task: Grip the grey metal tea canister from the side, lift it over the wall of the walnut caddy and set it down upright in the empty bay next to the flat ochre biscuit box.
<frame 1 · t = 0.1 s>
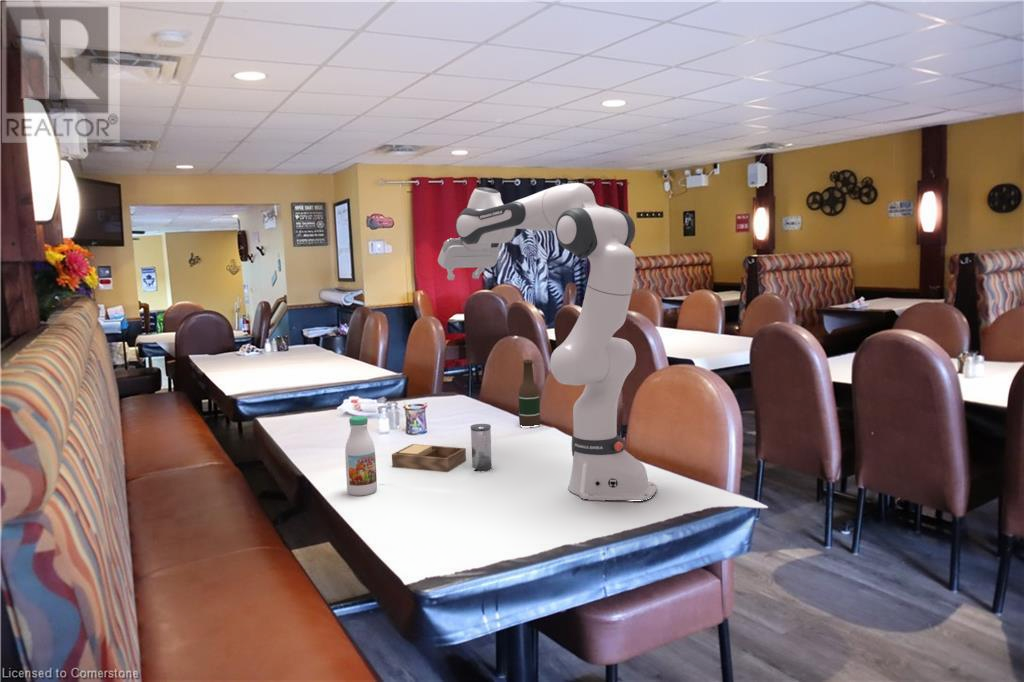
hand: (462, 278, 222), 54 cm above the table, tool tilted 30°, fingers open, 8 cm apart
beer bottle: (529, 426, 257), on the table
milk bottle: (362, 492, 188), on the table
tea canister: (482, 468, 206), on the table
caddy: (429, 466, 210), on the table
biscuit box: (416, 462, 212), point 1 cm above the table, touching caddy
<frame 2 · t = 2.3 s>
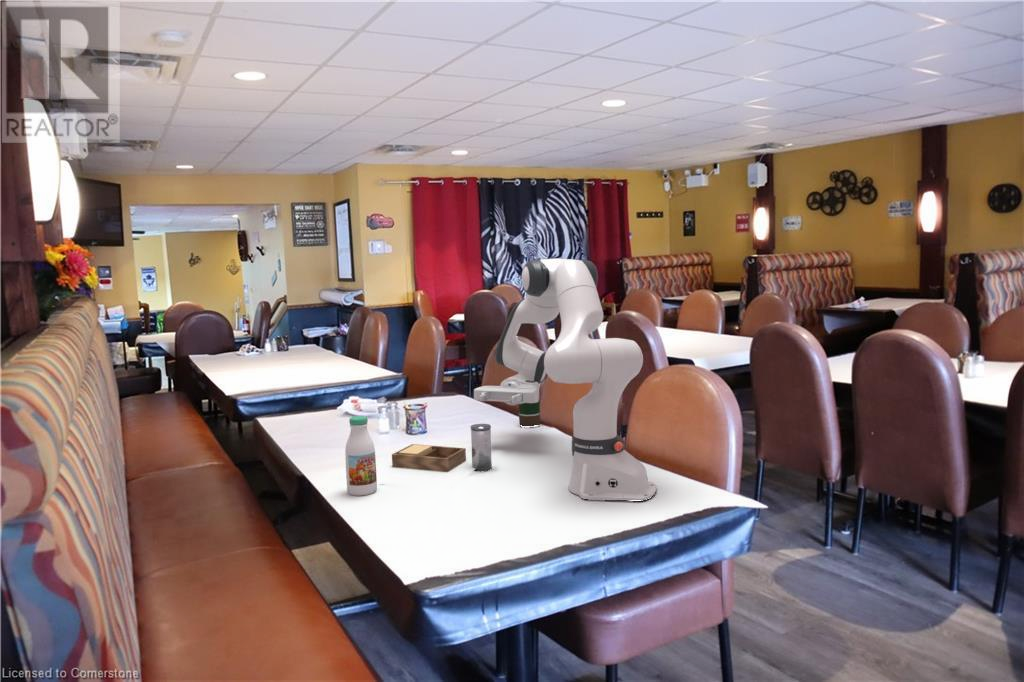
hand: (496, 399, 215), 18 cm above the table, tool horizontal, fingers open, 8 cm apart
nothing on the table moved.
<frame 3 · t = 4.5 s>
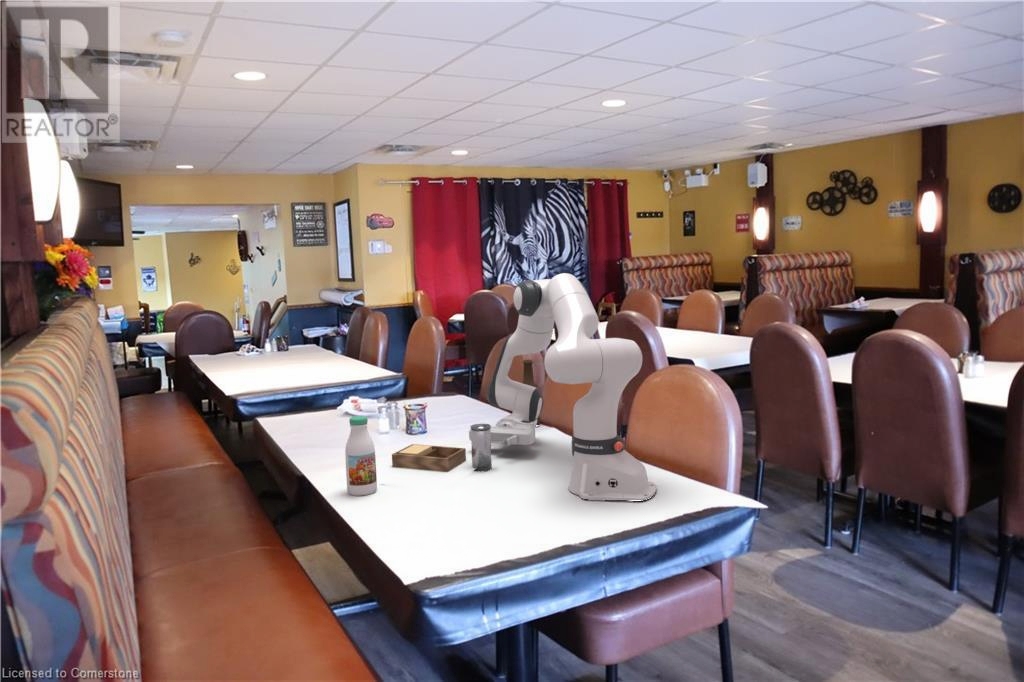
hand: (491, 441, 212), 6 cm above the table, tool horizontal, fingers open, 8 cm apart
nothing on the table moved.
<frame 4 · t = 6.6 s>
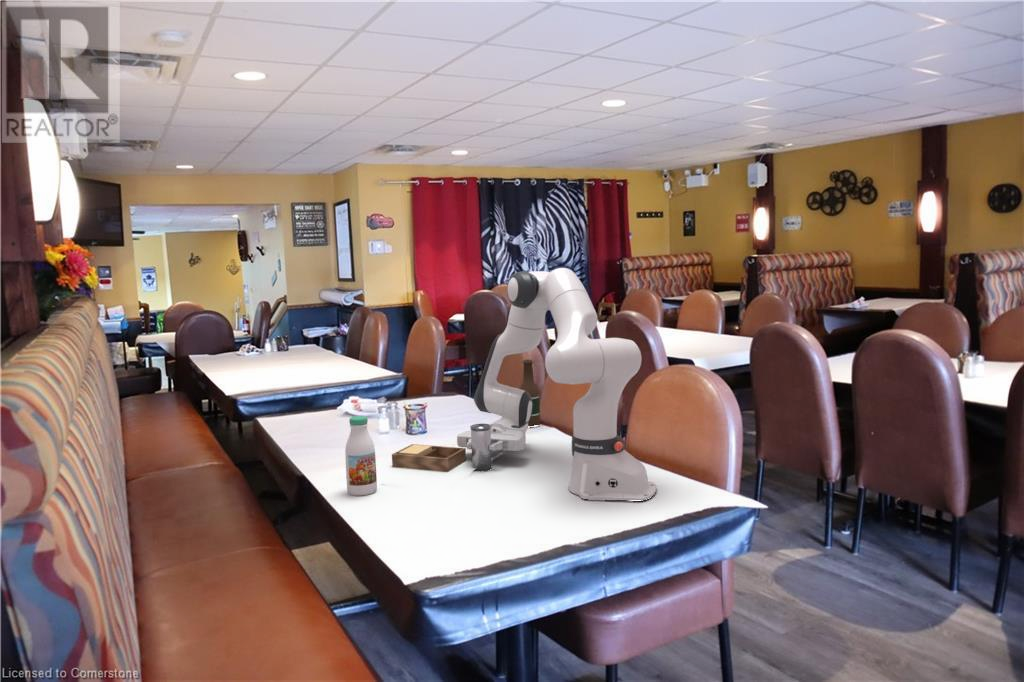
hand: (480, 447, 204), 7 cm above the table, tool horizontal, fingers closed on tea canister, 6 cm apart
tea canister: (482, 468, 206), on the table, touching gripper
everything else where it was.
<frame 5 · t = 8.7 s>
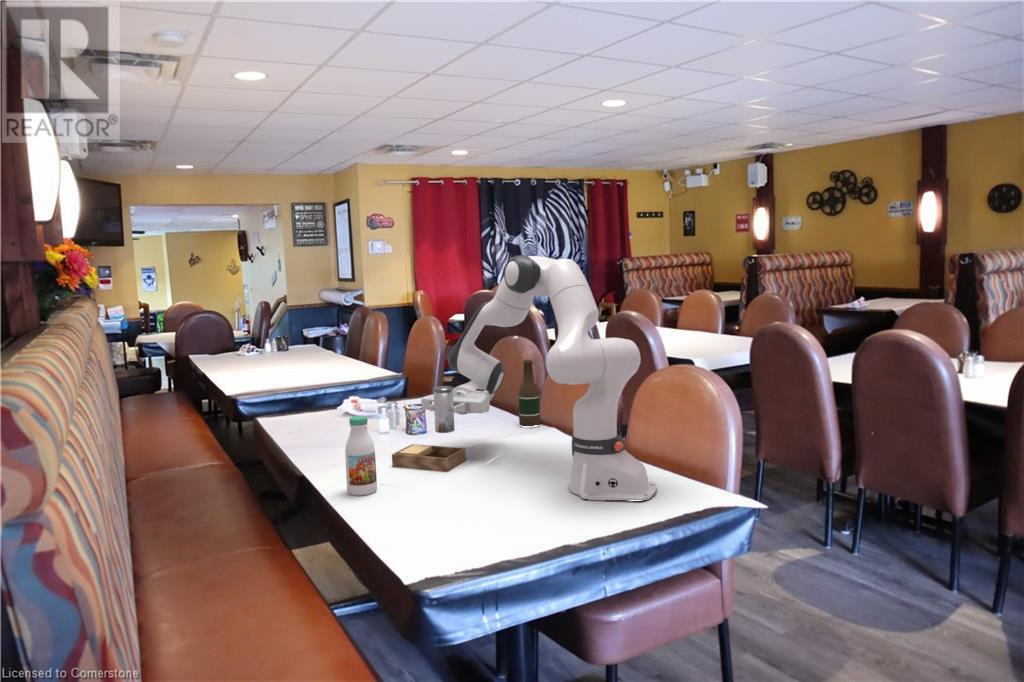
hand: (442, 409, 206), 17 cm above the table, tool horizontal, fingers closed on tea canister, 6 cm apart
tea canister: (444, 430, 208), point 11 cm above the table, touching gripper
everything else where it was.
when the fingers open (9 cm above the table, at t = 11.2 s): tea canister drops 2 cm, resting on caddy.
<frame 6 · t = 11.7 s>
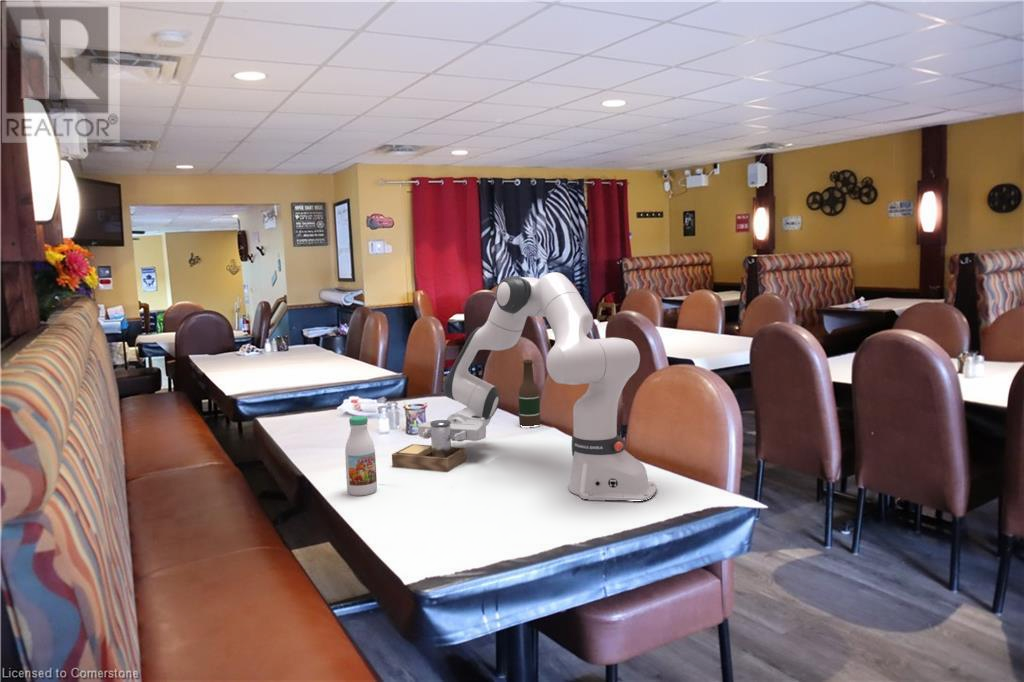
hand: (439, 437, 207), 9 cm above the table, tool horizontal, fingers open, 8 cm apart
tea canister: (441, 464, 209), point 1 cm above the table, touching caddy
everything else where it was.
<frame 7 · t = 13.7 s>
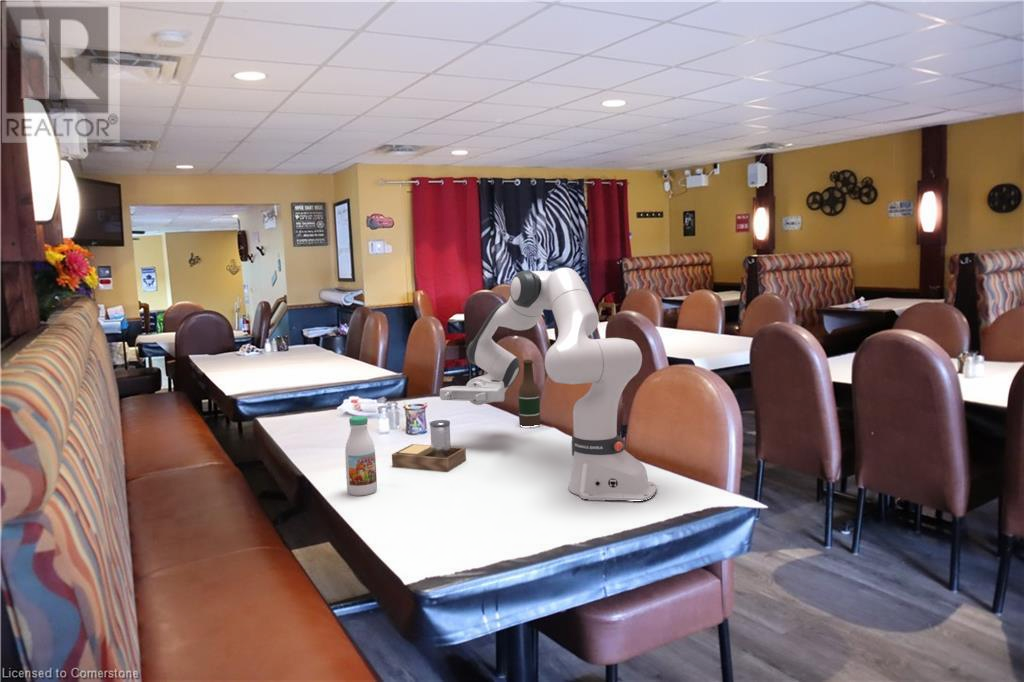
hand: (460, 397, 217), 18 cm above the table, tool horizontal, fingers open, 8 cm apart
nothing on the table moved.
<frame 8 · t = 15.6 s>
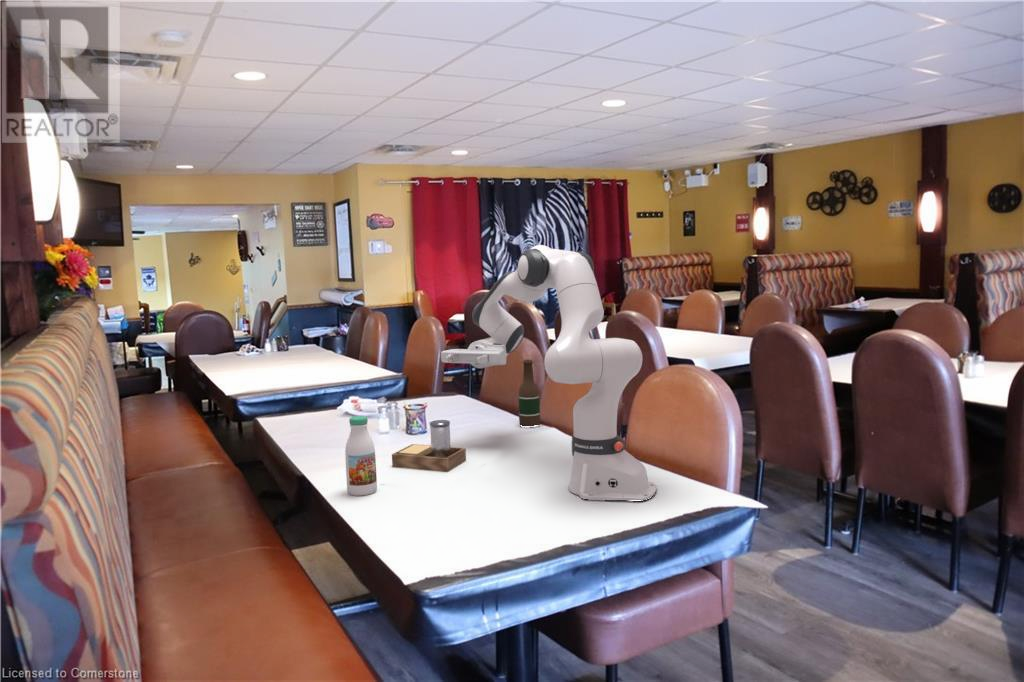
hand: (462, 360, 216), 30 cm above the table, tool horizontal, fingers open, 8 cm apart
nothing on the table moved.
at the end: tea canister inside the target area on the caddy (0.2 cm from its centre), point 0.9 cm above the caddy's base; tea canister tilted 1°; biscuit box moved 0.0 cm from its start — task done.
